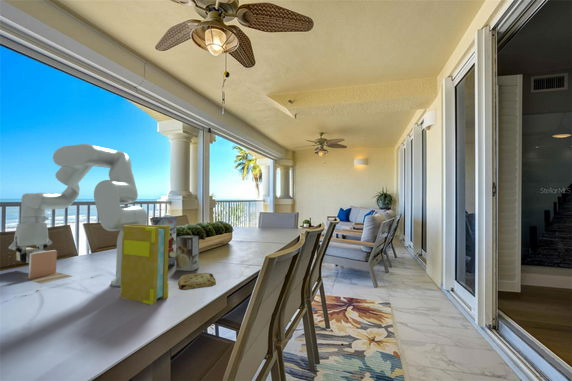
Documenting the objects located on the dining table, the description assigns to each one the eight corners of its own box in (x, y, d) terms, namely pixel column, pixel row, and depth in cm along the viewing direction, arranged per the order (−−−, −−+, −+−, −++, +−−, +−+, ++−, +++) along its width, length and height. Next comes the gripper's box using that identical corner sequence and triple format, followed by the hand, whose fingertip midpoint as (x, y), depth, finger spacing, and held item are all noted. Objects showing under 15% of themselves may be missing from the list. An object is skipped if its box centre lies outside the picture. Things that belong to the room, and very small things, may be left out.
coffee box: (199, 267, 120) (200, 235, 121) (192, 271, 114) (193, 237, 114) (182, 266, 122) (183, 235, 122) (175, 270, 115) (175, 237, 116)
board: (72, 279, 101) (72, 276, 101) (40, 287, 92) (41, 283, 92) (52, 274, 108) (52, 270, 109) (20, 280, 99) (20, 277, 99)
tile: (55, 273, 105) (56, 250, 106) (30, 278, 98) (31, 254, 98) (53, 272, 106) (54, 249, 106) (28, 277, 99) (29, 253, 99)
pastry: (164, 287, 94) (165, 279, 94) (196, 274, 110) (196, 268, 110) (199, 293, 88) (200, 285, 88) (227, 279, 104) (227, 272, 104)
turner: (46, 262, 105) (46, 250, 105) (33, 264, 102) (34, 252, 102) (28, 258, 113) (28, 247, 113) (16, 259, 109) (16, 249, 109)
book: (168, 296, 84) (170, 225, 85) (151, 304, 77) (154, 227, 78) (133, 290, 89) (135, 224, 90) (115, 297, 83) (117, 225, 84)
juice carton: (147, 267, 119) (149, 214, 120) (165, 262, 129) (166, 213, 130) (160, 270, 116) (162, 214, 117) (177, 264, 125) (179, 213, 127)
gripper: (53, 218, 117) (51, 256, 116) (2, 221, 102) (-1, 264, 101) (60, 219, 114) (58, 257, 113) (9, 222, 99) (6, 266, 98)
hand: (31, 260), depth 107 cm, fingers closed on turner, 4 cm apart
